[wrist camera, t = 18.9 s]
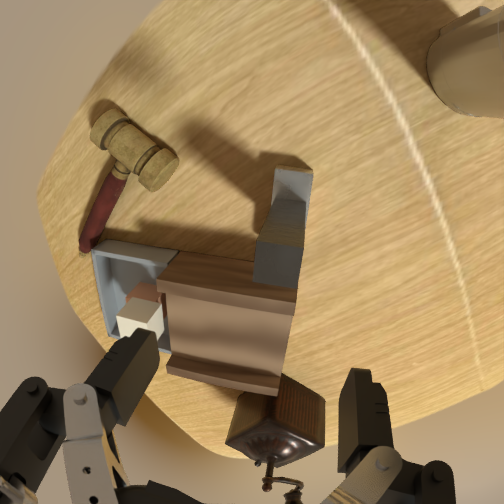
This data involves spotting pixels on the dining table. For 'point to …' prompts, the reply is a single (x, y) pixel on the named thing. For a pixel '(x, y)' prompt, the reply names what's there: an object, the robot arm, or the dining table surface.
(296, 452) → the antique coffee grinder
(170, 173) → the gavel
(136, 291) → the terracotta cube
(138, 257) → the tray
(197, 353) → the slot block
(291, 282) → the grey upright post
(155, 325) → the off-white cube
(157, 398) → the dining table surface
